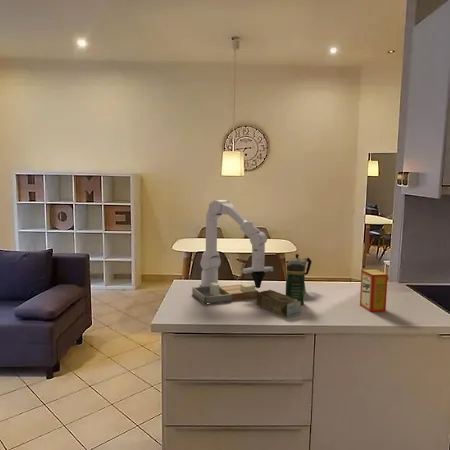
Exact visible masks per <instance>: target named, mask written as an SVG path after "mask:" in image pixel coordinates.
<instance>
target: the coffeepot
mask: <svg viewBox="0 0 450 450" xmlns="http://www.w3.org/2000/svg"><path fill="white" fill-rule="evenodd" d="M291 260H292V261H300V262H302V263H303V264H304V265H305V276H306V275H308V274H309V272H310V269H311V266H312V260H311V259H310V257H304V258H300V257H299V254H298V253H296V254H295V257H292V258H288V259H287V260H285V264H287V263H288V262H290V261H291ZM306 266H307V267H306ZM305 292H306V283H305V281H304V293H305Z"/></svg>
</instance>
